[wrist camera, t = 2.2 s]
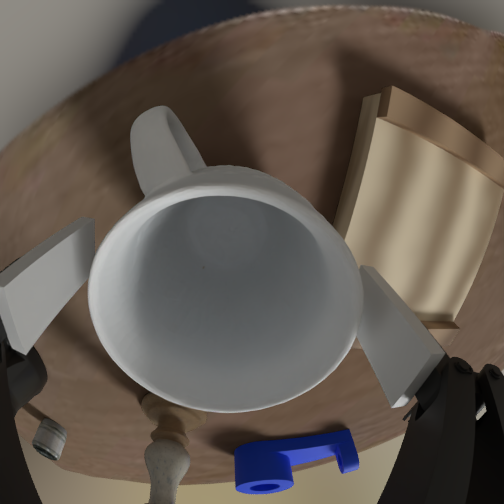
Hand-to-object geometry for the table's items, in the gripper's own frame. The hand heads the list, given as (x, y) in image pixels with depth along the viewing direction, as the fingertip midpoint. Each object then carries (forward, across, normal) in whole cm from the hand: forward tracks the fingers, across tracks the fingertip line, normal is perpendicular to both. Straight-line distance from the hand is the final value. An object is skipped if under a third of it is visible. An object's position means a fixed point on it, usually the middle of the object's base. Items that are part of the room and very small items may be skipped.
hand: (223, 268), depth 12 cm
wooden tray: (+10, +17, +2) cm, 20 cm away
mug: (+10, -1, 0) cm, 10 cm away
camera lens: (+9, -29, -48) cm, 57 cm away
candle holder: (+10, -3, -27) cm, 28 cm away
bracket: (+10, +16, -37) cm, 41 cm away
